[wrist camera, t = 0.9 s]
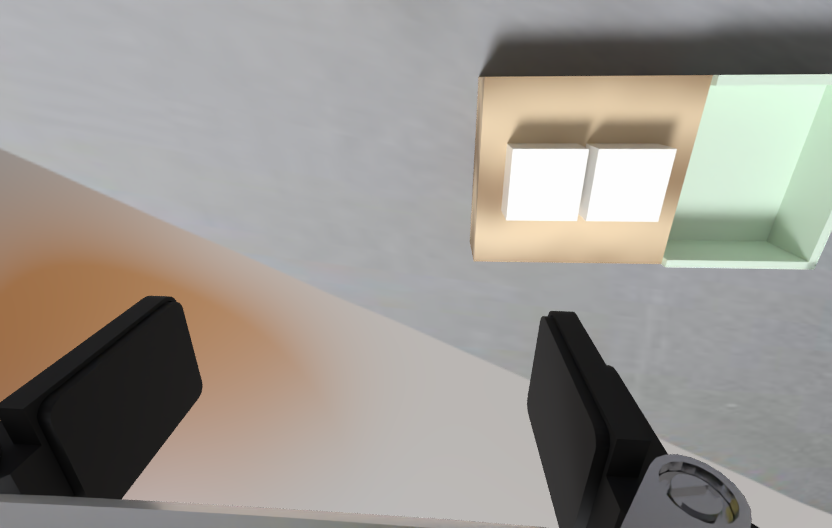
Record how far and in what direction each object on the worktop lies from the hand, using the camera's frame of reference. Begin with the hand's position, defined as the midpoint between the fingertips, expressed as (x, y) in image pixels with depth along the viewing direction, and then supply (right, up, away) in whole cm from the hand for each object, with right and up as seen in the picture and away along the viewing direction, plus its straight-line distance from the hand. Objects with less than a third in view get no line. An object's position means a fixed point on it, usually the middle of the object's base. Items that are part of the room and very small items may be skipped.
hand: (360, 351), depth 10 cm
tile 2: (+13, +7, +13) cm, 20 cm away
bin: (+22, +9, +16) cm, 28 cm away
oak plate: (+11, +9, +16) cm, 22 cm away
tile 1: (+9, +7, +13) cm, 18 cm away
